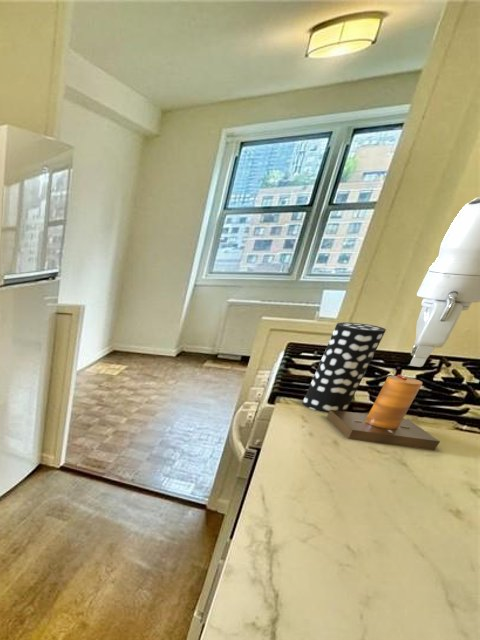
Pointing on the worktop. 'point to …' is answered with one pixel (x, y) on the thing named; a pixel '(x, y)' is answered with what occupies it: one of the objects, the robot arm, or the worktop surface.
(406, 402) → the orange ribbed cylinder
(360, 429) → the brown flat wooden slab
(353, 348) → the spotted tube
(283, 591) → the worktop surface
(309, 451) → the worktop surface
